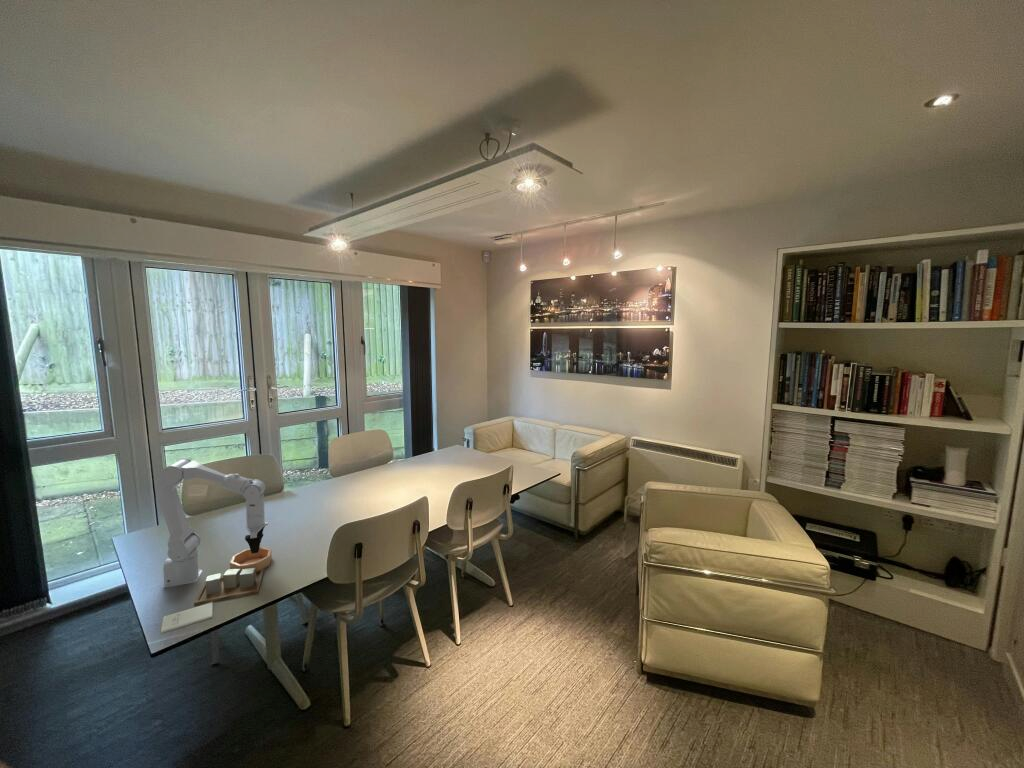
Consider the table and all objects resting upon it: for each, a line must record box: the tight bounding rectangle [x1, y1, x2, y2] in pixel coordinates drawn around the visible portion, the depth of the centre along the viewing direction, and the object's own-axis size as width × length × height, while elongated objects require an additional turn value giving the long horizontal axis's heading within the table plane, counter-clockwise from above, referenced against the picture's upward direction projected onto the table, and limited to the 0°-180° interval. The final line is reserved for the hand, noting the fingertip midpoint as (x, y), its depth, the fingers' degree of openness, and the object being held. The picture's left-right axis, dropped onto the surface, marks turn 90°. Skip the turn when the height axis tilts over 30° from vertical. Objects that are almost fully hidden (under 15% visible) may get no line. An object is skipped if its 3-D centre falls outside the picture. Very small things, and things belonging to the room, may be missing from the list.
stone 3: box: [239, 568, 256, 588], centre depth 144 cm, size 4×4×5 cm
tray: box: [193, 569, 265, 606], centre depth 142 cm, size 18×14×1 cm
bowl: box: [229, 546, 273, 573], centre depth 156 cm, size 13×13×4 cm
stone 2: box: [222, 568, 240, 588], centre depth 143 cm, size 4×4×5 cm
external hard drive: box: [160, 602, 214, 634], centre depth 127 cm, size 2×8×12 cm
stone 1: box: [205, 572, 222, 595], centre depth 140 cm, size 4×4×5 cm
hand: (256, 547), depth 152 cm, fingers open, 7 cm apart
